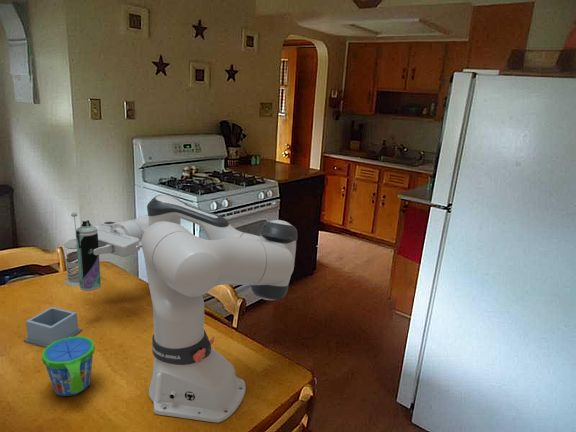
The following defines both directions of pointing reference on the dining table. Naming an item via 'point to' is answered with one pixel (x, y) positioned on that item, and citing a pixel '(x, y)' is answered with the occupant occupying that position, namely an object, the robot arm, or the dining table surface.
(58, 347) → the snack cup
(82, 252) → the spray can
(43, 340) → the collar stand
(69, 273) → the french press
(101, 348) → the dining table surface
